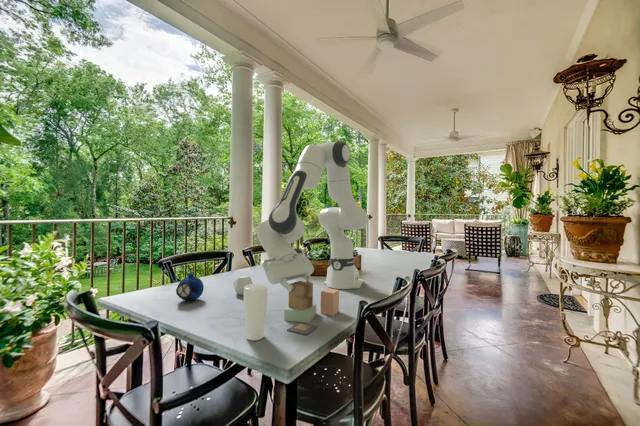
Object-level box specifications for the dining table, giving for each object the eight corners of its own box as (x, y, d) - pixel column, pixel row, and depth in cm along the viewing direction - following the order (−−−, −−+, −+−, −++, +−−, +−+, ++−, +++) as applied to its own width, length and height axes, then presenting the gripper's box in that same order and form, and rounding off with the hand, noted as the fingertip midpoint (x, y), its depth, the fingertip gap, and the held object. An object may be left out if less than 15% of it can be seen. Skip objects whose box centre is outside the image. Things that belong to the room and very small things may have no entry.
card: (298, 323, 97) (298, 321, 97) (317, 327, 94) (317, 325, 94) (286, 330, 91) (287, 328, 91) (306, 335, 88) (306, 333, 88)
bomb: (170, 304, 114) (170, 266, 114) (185, 296, 125) (185, 261, 125) (195, 305, 113) (195, 266, 113) (207, 297, 124) (207, 261, 124)
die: (257, 295, 131) (254, 275, 136) (250, 290, 123) (246, 269, 128) (240, 301, 131) (237, 281, 136) (231, 296, 124) (228, 275, 129)
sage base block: (292, 312, 109) (292, 301, 109) (316, 314, 107) (316, 303, 107) (284, 321, 100) (284, 309, 100) (309, 323, 98) (309, 311, 98)
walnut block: (299, 302, 108) (299, 280, 107) (312, 305, 104) (312, 283, 104) (288, 307, 103) (288, 284, 103) (302, 310, 99) (302, 286, 99)
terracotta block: (326, 309, 112) (326, 288, 112) (338, 311, 109) (339, 290, 109) (320, 313, 107) (320, 291, 107) (333, 315, 105) (333, 293, 105)
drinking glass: (270, 338, 85) (271, 287, 85) (248, 344, 81) (249, 290, 81) (261, 330, 91) (261, 282, 91) (239, 336, 87) (240, 285, 87)
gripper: (264, 255, 100) (283, 289, 94) (305, 249, 116) (324, 278, 110) (256, 266, 103) (274, 300, 97) (297, 259, 119) (315, 287, 113)
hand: (301, 288), depth 104 cm, fingers open, 8 cm apart
